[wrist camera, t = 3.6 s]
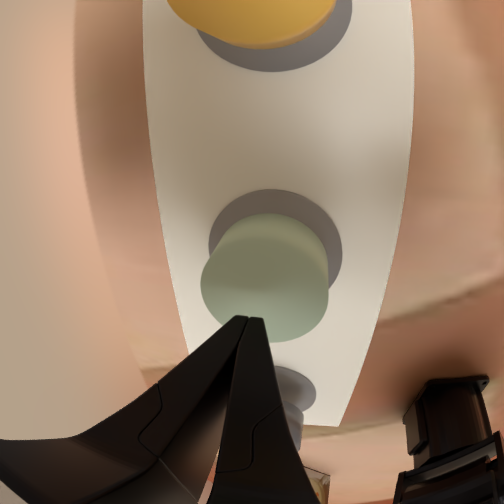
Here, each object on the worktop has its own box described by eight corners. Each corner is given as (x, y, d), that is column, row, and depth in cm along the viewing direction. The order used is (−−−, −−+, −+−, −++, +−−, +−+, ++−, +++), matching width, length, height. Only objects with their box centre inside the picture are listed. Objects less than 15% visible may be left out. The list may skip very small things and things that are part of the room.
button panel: (385, -41, 7) (400, -69, 5) (339, 394, 21) (338, 428, 19) (174, -33, 9) (142, -54, 7) (215, 380, 23) (204, 411, 20)
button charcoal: (308, 394, 15) (304, 432, 13) (300, 429, 17) (296, 460, 15) (229, 385, 16) (217, 420, 14) (234, 420, 18) (226, 450, 16)
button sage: (332, 212, 11) (336, 244, 9) (322, 307, 13) (320, 347, 11) (215, 206, 12) (192, 234, 10) (223, 298, 14) (207, 334, 12)
